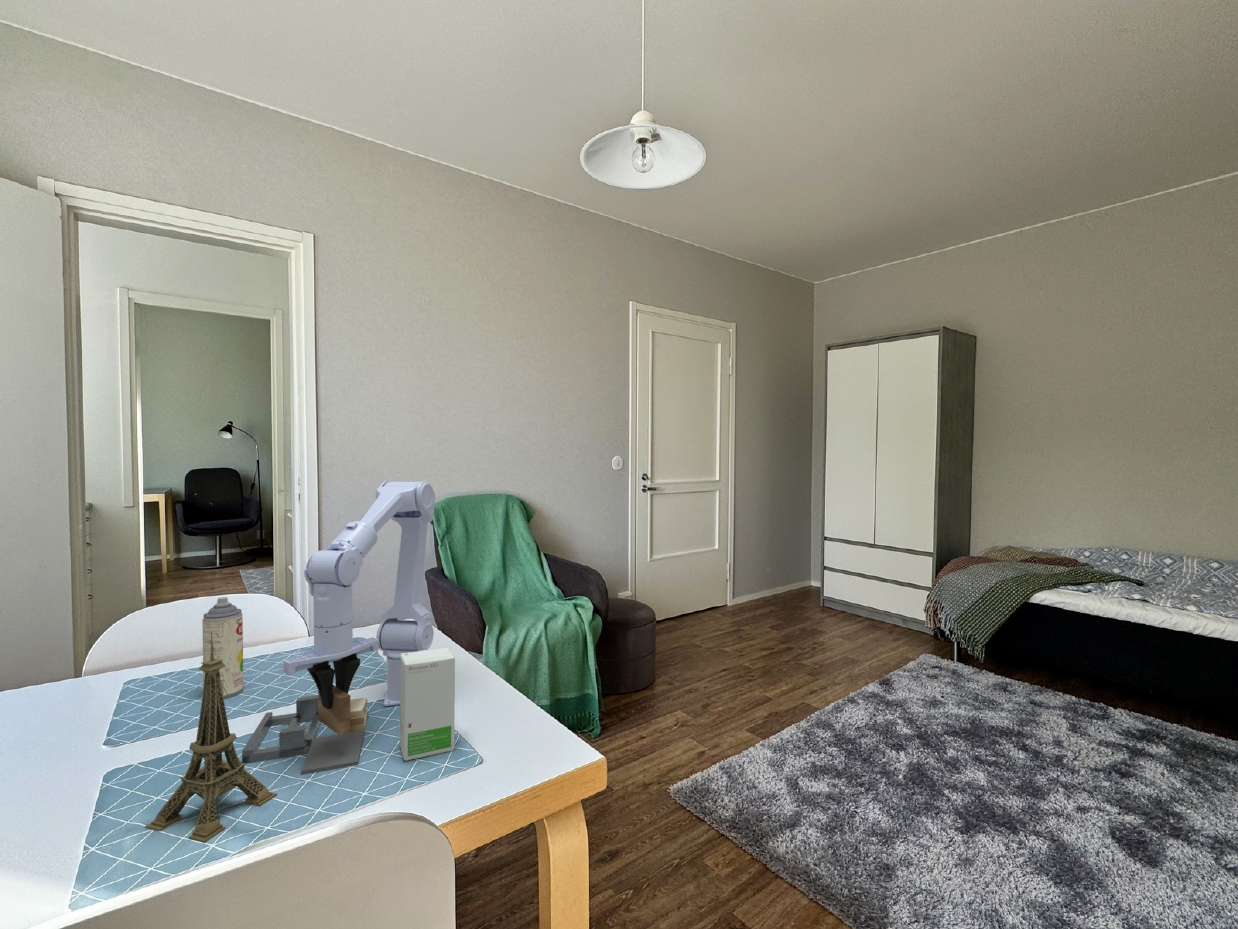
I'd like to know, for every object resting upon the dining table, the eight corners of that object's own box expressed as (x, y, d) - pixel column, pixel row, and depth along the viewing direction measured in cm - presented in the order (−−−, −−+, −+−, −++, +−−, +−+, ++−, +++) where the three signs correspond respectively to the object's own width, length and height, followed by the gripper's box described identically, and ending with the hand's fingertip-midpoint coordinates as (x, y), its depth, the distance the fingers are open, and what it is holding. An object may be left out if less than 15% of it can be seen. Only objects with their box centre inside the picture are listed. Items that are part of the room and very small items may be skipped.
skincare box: (403, 763, 90) (402, 665, 89) (398, 744, 95) (397, 653, 95) (456, 750, 93) (456, 656, 93) (449, 733, 99) (448, 645, 99)
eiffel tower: (222, 784, 84) (220, 618, 84) (277, 795, 81) (274, 623, 81) (145, 828, 74) (142, 639, 74) (204, 843, 71) (201, 646, 71)
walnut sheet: (328, 717, 96) (328, 682, 96) (350, 732, 91) (350, 695, 91) (318, 720, 95) (318, 685, 95) (340, 735, 90) (340, 698, 90)
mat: (364, 733, 99) (364, 730, 99) (357, 764, 89) (357, 761, 89) (313, 741, 97) (313, 738, 97) (300, 774, 86) (300, 771, 86)
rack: (322, 715, 106) (322, 694, 106) (307, 753, 93) (307, 729, 93) (266, 723, 103) (266, 702, 103) (242, 763, 90) (241, 738, 90)
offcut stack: (368, 714, 107) (367, 696, 107) (364, 731, 100) (364, 712, 100) (341, 717, 106) (341, 699, 105) (336, 735, 99) (336, 716, 99)
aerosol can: (245, 694, 117) (244, 598, 116) (204, 703, 112) (203, 603, 112) (241, 684, 122) (240, 592, 122) (202, 692, 118) (201, 597, 117)
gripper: (364, 609, 101) (365, 685, 101) (275, 628, 90) (276, 713, 90) (384, 616, 97) (385, 695, 97) (293, 637, 85) (294, 726, 85)
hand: (334, 704), depth 93 cm, fingers closed on walnut sheet, 2 cm apart
